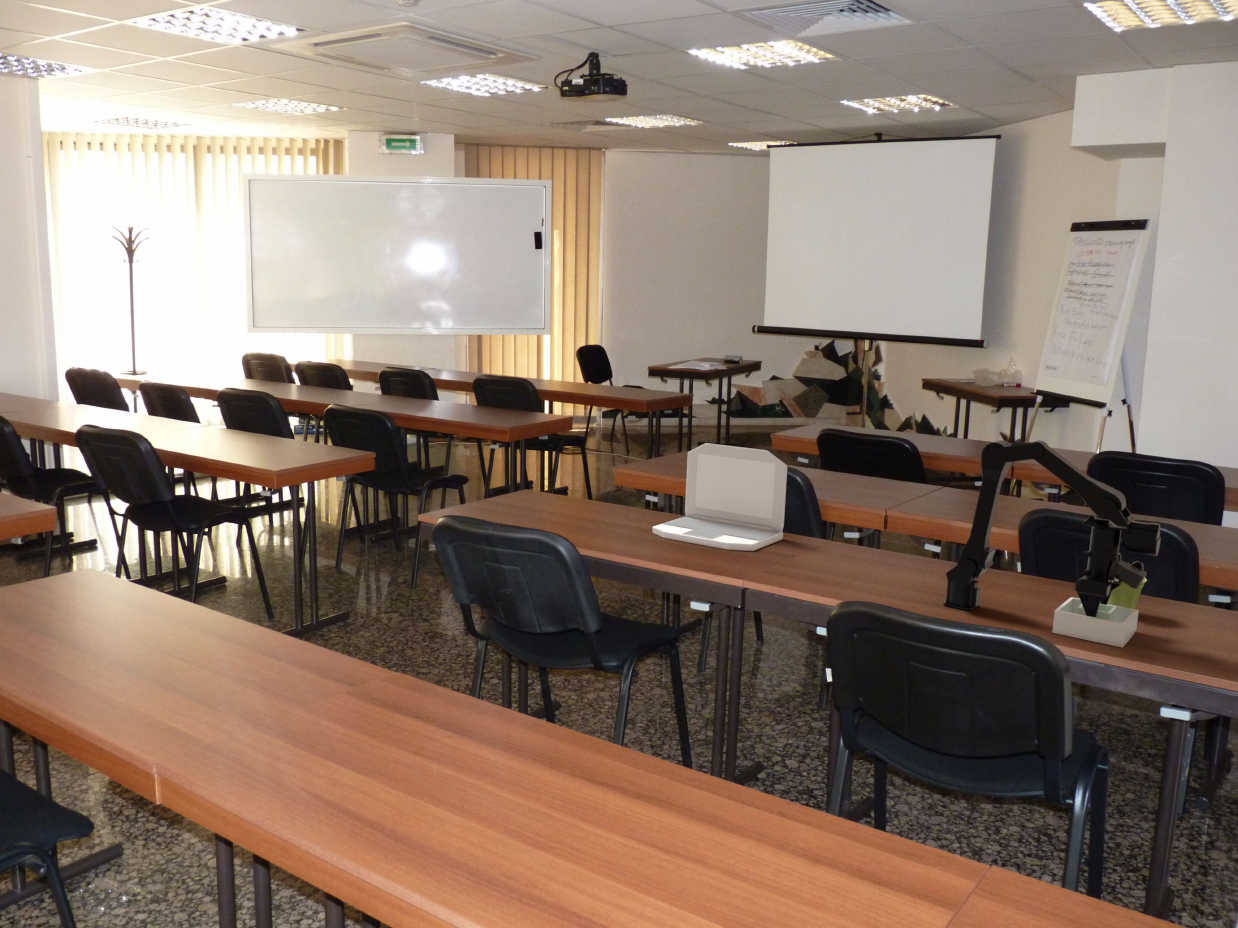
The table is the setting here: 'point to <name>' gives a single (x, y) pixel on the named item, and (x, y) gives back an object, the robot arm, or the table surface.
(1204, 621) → the table surface
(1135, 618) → the big crate
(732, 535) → the laptop
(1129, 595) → the plant pot
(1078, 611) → the small crate
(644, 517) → the table surface
